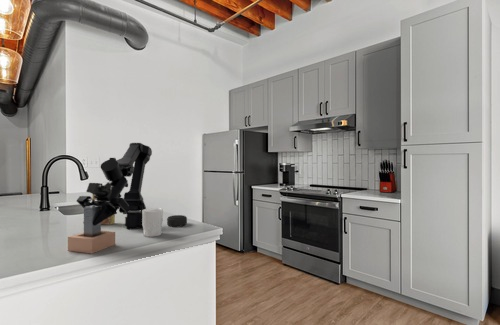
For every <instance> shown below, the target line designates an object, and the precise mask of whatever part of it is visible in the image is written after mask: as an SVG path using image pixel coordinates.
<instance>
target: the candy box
mask: <svg viewBox="0 0 500 325" xmlns="http://www.w3.org/2000/svg"><path fill="white" fill-rule="evenodd" d="M91 198H92V199H94V200H97V198H95V197H94V194H92V197H91ZM115 218H116V214H114V215H112V216H110V217H109V218H107V219H105V220H103V221H102V222H101V225H104V226H105V225H107V226H108V225H110V226H111V225H113V224H115V223H116V221H115V220H116V219H115Z"/></svg>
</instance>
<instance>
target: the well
mask: <svg viewBox="0 0 500 325" xmlns="http://www.w3.org/2000/svg"><path fill="white" fill-rule="evenodd" d="M115 245H116V231H110V230H108V231H107V230H101V235H99V236H95V237H84V231H82V232H81V233H80V232H79V233H77V234H73V235H70V236H67V251H69V252H76V253H77V252H78V253H85V254H95V253H96V252H100V251H102V250H105V249H107V248H110V247H113V246H115Z"/></svg>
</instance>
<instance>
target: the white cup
mask: <svg viewBox="0 0 500 325" xmlns="http://www.w3.org/2000/svg"><path fill="white" fill-rule="evenodd" d="M163 213H164V210H163V208H158V207H157V208H156V207H154V208H146V209H144V210H142V226H143V228H142V229H143V237H147V238H151V237H152V238H154V237H158V236H161V235H162V228H163V215H164V214H163Z"/></svg>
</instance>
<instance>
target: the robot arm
mask: <svg viewBox="0 0 500 325" xmlns="http://www.w3.org/2000/svg"><path fill="white" fill-rule="evenodd" d="M152 154H153V150H152V148H151V147H150V146H148V145H146V144H143V143H142V142H131V143H129V146H128V148H127V149H126V152H125V153H124V154H123V155H122V157H121V158H119V159H116V157H110V158H109V159H108V160H105V161H104V162H102V163H101V164H100V169H101V171H102V174H104V177H105V179H106V180H107V181H108V182H106V181H104V182H103V183H100V182H89V183H88V186H87V189H86V193H90V194H92V195H93V194H94V197H95V198H97V200H94V199H92V197H91V196H90V195H81V196H78V198H77V199H76V202H77V203H78V204H79V205H80V206H81V208H83V209H84V207H87V206H92V205H94V206H101V210H100V212H99V214H98V215H97V217H96V218H95V220H94V222H93V225H94V226H96V225H97V224H99V223H100V222H102V221H103V220H105V219H107V218H109V217H110V216H112V215H114V214H115V215H117V214H118V212H117V211H119V213H121V214H123V215H126V216H125V217H124V219H125V220H124V227H125V228H126V229H127V230H132V229H141V228H142V229H143V218H142V210H144V209H147V207H146V204H145V202H144V197H143V196H142V193H141V192H142V188H143V187H142V186H143V182H144V181H143V180H144V175H145V168H146V164H148V162H150V160H151V156H152ZM131 176H132V177H131ZM127 177H128V178H130V177H131V180H130V182H131V183H130V186H129V182H128V180H127ZM124 188H129V191H126V192H124V194H123V197H122V194H121V193H122V191H123V190H124ZM83 224H84V221H83Z"/></svg>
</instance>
